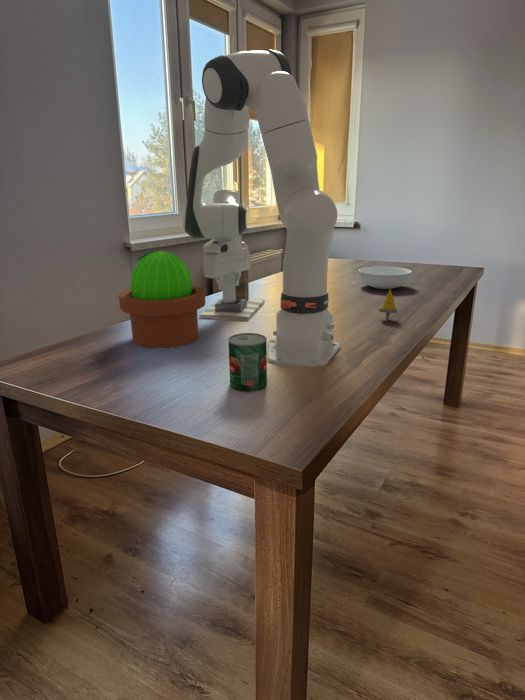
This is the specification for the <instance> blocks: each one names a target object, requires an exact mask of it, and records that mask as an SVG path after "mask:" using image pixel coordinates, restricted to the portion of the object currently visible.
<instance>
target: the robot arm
mask: <svg viewBox="0 0 525 700" xmlns="http://www.w3.org/2000/svg"><path fill="white" fill-rule="evenodd" d="M201 85H202V91H203V93H204V96H205V102H204V114H203V115H204V116H203V118H204V131H203V132H204V134H203V137H202V140H201V142H200V144H198V145H197V146H195V147H194V149H193V151H192V155H191V163H190V168H189V176H188V184H187V185H188V186H187V195H186V204H185V208H184V211H183V215H182V227H183V229H184V232H185V233H186V234H187V235H188V236H189V237H190V238H191V239H194V240H197V239H198V240H199V239H205V238H211V240H209V241H207V242H206V243H205V244H203V246H202V251H203V253H204V254H203V257H202V269H203V271H202V272H203V275H204V277H205V278H209V279H215V281H216V283H217V285H218V286H217V287H218V290H219V291H222V290H224V289H225V288H226V287H225V284H224V283H223V281H222V279H223V276H225V275H229V274H231V272H234V271H235V286H238V285H239V279H240V276H241V271H245V270H248V271H249V270H250V269H251V266H252V265H251V253H250V250H249V246H248V244H247V243H246V242H245V241H242V234H243V233H245V231H247V229H248V227H247V212H248V211H247V209H246V208H245V207H244V206H242V205H241V200H240V195H239V192H238V191H236V190H232V189H221V190H217V191H215V192H214V193H213V199H212V202H207V203H206V202H202V194H203V186H204V181H205V178H206V177H207V175H208V174H210V173H211V172H214V171H215V170H217V169H220V168H221V167H222V168H223V167H225V166H228V165H229V164H232V163H233V162H235V161H237V160H239V158H240V157H241V156H242V155H243V153H244V152H245V150H246V149H247V145H248V144H247V143H248V131H249V129H248V128H249V127H248V125H249V124H248V119H249V118H248V112H249V109H251V111H253V112H254V113H255V116H256V118H257V122H258V128H259V131H260V135H261V138H262V143H263V146H264V150H265V153H266V154H265V155H266V158H267V162H268V165H269V169H270V174H271V180H272V185H273V191H274V196H275V200H276V205H277V211H278V214H279V218H280V221H281V224H282V225H283V227H284V228H285V229H286V239H285V240H286V242H285V249H284V257H283V260H282V261H283V262H282V291H281V294H280V295H281V296H280V299H279V301H280V310H279V311H277V312H276V317H275V318H276V319H275V320H276V330H273V332H272V333H273V334H272V335H273V336H274V338H269V339H267V341H268V342H267V362H269V363H270V364H274V365H279V366H288V367H295V368H296V367H297V368H298V367H300V368H315V367H324V366H326V365H327V364H328V363H329V362H330V361H331V359H332V358H333V357H334V356H335V354H336V353H337V352H338V351H339V350H340V349H341V344H340V342H337V341H334V326H335V325H334V319H335V317H334V315H333V314H332V313H331V312H330V311H329V309H328V308H329V300H330V299H329V293H328V270H329V269H328V267H329V258H330V253H331V248H332V242H333V237H334V236H333V235H334V229H335V226H336V225H337V222H338V210H337V206H336V204H335V202H334V200H333V199H332V197H330V195H329V194H327V193H326V192H324V191H322V190H320V184H319V174H318V154H317V149H316V146H315V140H314V137H313V132H312V129H311V124H310V120H309V116H308V113H307V112H308V111H307V107H306V104H305V102H304V99H303V96H302V93H301V91H300V88H299V86H298V84H297V81H296V79H295V77H293V75H292V70H291V64H290V62H289V60H288V59H287V56H286V55H284V53H282V52H281V51H278V50H275V49H267V48H266V49H263V50H241V51H237V52H233V53H229V54H226V55H223V54H222V55H218V56H215V57H214V58H212V59H210V60H209V61H208V62H206V63H205V65H204V67H203V70H202V76H201Z"/></svg>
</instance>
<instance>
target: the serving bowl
mask: <svg viewBox="0 0 525 700" xmlns="http://www.w3.org/2000/svg"><path fill="white" fill-rule="evenodd" d="M412 271H413V270H411V269H409V268H404V267H397V266H369V267H368V266H367V267H362V268H360V269H359V268H358V277H359V280H360V281H361V282H362V283H363V284H364V285H366V286H369V287H372V288H374V289H378V290H390V289H391V290H393V289H395V288H400V287H402V286H404V285H406V284H407V283H408V282H409V281H410V279H411V277H412V274H413V272H412Z"/></svg>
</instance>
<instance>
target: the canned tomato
mask: <svg viewBox="0 0 525 700" xmlns="http://www.w3.org/2000/svg"><path fill="white" fill-rule="evenodd" d="M227 341H228V361H229V363H228V364H229V365H228V367H229V369H228V371H229V385H230V388H231V389H232V390H234V391H237V392H241V393H254V392H259V391H262V390H263V389H266V388H267V386H268V363H267V362H268V343H267V341H268V339H267V337H266V336H265V335H264V334H260V333H257V332H256V333H255V332H242V333H241V332H240V333H236V334H233V335H231V336H229V337H228V339H227Z"/></svg>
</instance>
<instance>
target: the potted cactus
mask: <svg viewBox="0 0 525 700" xmlns="http://www.w3.org/2000/svg"><path fill="white" fill-rule="evenodd" d="M178 256H179V255H177V256H176V255H175V254H174V251H171V252H170V250H166V251H165V250H161V251H160V250H158V251H157V250H152V251H147V252H145V253H143V254H142V256H140V257H138V258H137V259H136V261H137V262H136V264H135V266H134V267H133V268H132V269H131V268H130V269H131V271H132V273H131V274H130V275H131V279H130V280H131V281H130V284H129V286H130V288H128V289H125V290H123V291H121V292H120V293H119V294H118V299H119V300H118V301H119V309H120V310H121V311H122V312H124V313H127V314H129V317H130V318H129V319H130V328H131V335H132V336H131V337H132V342H133V343H134V344H135V345H136V344H137V346H138V347H141V346H142V348H146V347H147V349H153V348H166V349H172V348H171V347H174V348H178V347H177V346H180V347H183V346H182V345H184V346H187V345H190V344H192V343H194V342H196V341H197V340H198V339H199V323H198V322H199V321H198V310H200V309H202V308H203V307H205V306H206V291H205V289H203V288H202V287H200V286H195V285H193V282H192V278H191V277H194V276H193V275H192V274H190V269H189V268H188V265H187V264H188V262H186V263H185V262H184V261H183V258H180V256H179V257H178ZM191 342H192V343H191ZM189 343H190V344H189ZM186 344H187V345H186Z"/></svg>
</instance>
